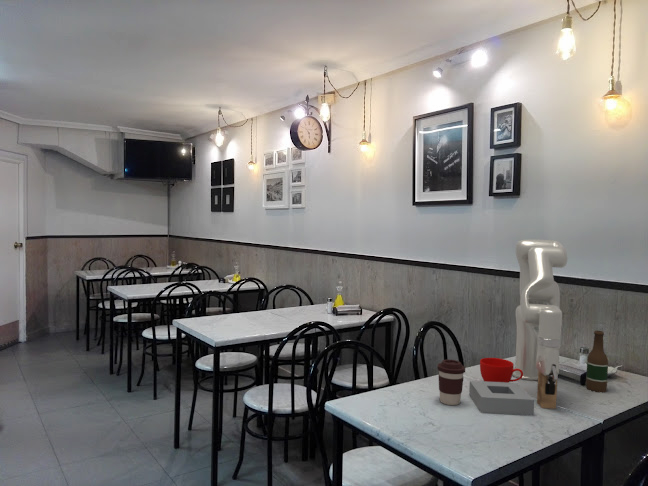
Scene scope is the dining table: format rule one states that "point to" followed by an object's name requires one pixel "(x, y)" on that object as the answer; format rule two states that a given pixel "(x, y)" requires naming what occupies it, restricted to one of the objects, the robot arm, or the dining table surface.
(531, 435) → the dining table surface
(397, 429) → the dining table surface
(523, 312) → the robot arm
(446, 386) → the coffee cup
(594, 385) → the beer bottle
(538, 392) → the brown rectangular block
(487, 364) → the ceramic cup
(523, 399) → the well block
